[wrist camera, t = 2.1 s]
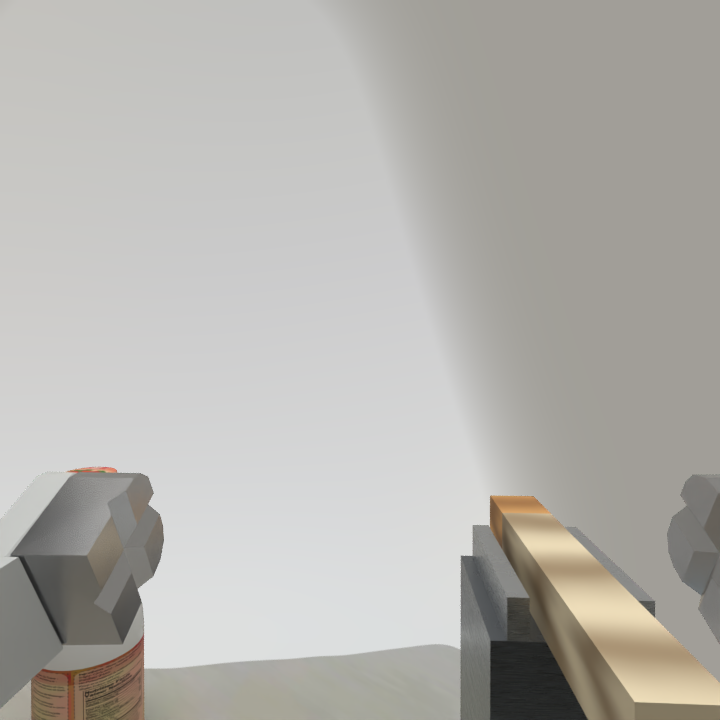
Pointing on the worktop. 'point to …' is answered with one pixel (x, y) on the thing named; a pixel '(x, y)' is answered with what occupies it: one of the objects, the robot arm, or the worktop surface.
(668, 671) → the tan wooden bar
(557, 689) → the housing tower
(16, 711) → the worktop surface
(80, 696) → the fruit juice
